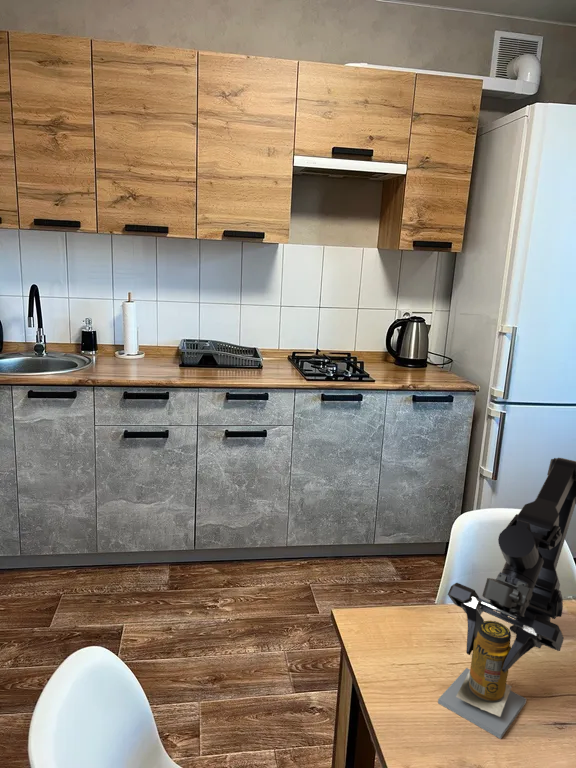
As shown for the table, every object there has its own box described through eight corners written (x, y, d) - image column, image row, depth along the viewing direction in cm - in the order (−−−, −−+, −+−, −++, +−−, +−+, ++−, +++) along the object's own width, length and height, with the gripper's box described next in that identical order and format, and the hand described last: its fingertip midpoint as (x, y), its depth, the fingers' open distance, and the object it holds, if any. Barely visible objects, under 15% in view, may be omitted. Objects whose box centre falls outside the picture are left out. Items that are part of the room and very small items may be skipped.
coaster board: (466, 671, 109) (466, 667, 109) (525, 702, 102) (526, 698, 102) (437, 703, 101) (438, 698, 101) (500, 739, 94) (501, 734, 94)
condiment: (511, 687, 103) (520, 626, 100) (499, 717, 96) (509, 653, 93) (469, 670, 107) (477, 611, 104) (455, 698, 100) (463, 635, 97)
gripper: (458, 541, 105) (421, 623, 99) (568, 582, 93) (534, 678, 87) (472, 564, 113) (439, 642, 107) (576, 605, 101) (545, 695, 95)
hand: (485, 662), depth 99 cm, fingers closed on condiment, 6 cm apart
